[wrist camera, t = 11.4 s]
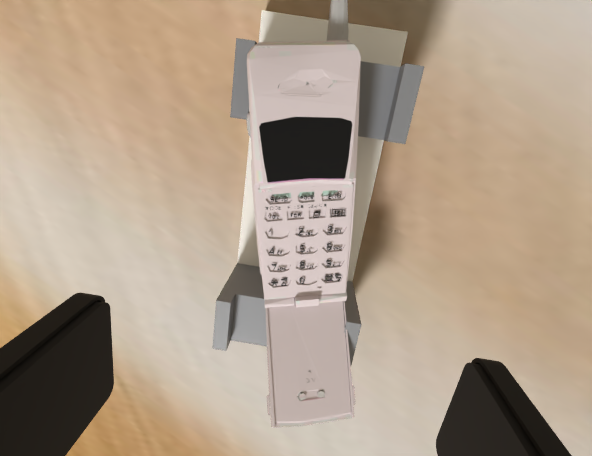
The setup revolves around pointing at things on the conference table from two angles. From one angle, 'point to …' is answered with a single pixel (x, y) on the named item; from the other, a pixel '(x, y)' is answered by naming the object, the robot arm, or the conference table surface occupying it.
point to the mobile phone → (305, 215)
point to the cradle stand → (371, 134)
